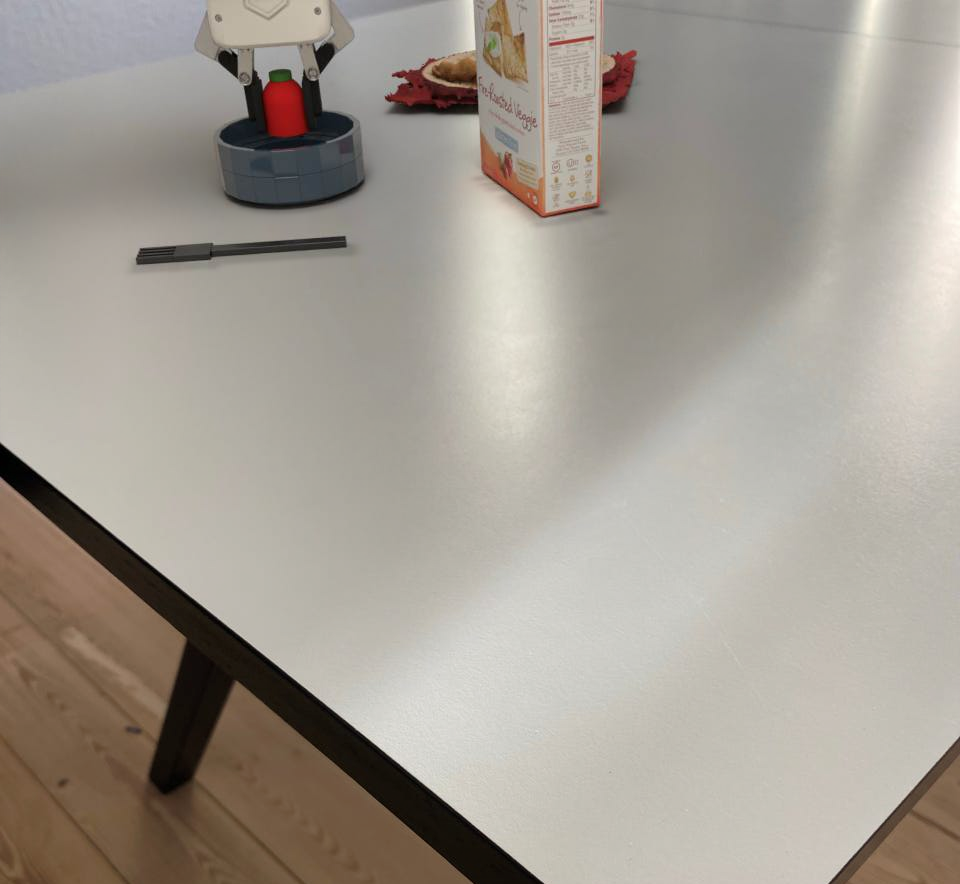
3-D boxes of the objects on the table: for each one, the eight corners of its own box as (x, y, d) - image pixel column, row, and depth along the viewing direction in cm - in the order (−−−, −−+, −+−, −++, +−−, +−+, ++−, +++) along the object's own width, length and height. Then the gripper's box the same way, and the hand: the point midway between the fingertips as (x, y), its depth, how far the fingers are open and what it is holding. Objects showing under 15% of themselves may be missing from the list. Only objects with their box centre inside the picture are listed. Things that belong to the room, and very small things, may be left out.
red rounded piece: (266, 138, 100) (256, 78, 97) (269, 126, 103) (259, 67, 100) (308, 135, 100) (300, 75, 97) (310, 123, 103) (302, 64, 100)
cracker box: (476, 173, 105) (465, -92, 91) (535, 163, 106) (532, -99, 93) (538, 220, 95) (535, -71, 81) (602, 207, 96) (609, -79, 83)
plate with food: (623, 117, 117) (625, 82, 115) (385, 111, 121) (382, 76, 119) (636, 65, 135) (638, 33, 133) (429, 60, 139) (428, 29, 137)
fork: (346, 249, 91) (345, 243, 91) (136, 264, 91) (135, 258, 90) (346, 238, 93) (345, 233, 93) (141, 253, 93) (139, 247, 92)
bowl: (216, 214, 99) (205, 156, 96) (230, 168, 109) (220, 113, 106) (365, 204, 99) (359, 145, 96) (365, 159, 110) (360, 104, 106)
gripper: (139, -103, 86) (190, 146, 98) (355, -117, 87) (380, 132, 98) (153, -115, 92) (200, 122, 104) (356, -128, 92) (379, 109, 104)
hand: (287, 125), depth 101 cm, fingers closed on red rounded piece, 3 cm apart
